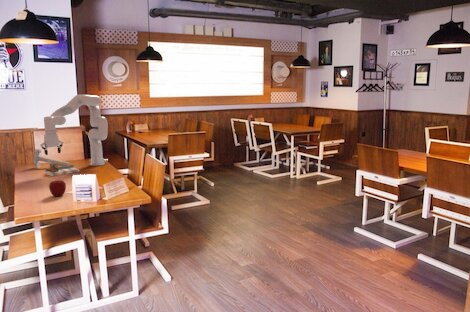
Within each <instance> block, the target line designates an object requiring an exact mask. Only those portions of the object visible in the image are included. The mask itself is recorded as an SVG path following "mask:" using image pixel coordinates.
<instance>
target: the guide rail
mask: <svg viewBox="0 0 470 312" xmlns="http://www.w3.org/2000/svg"><path fill="white" fill-rule="evenodd" d="M73 167H74V164H70V165H69V166H59V167H58V170H60V169H67V168H73ZM74 168H75V167H74ZM47 171H50V167H49V168H45V169H44V172H47Z"/></svg>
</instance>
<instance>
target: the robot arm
mask: <svg viewBox="0 0 470 312" xmlns="http://www.w3.org/2000/svg"><path fill="white" fill-rule="evenodd" d="M100 105H102V98H101V97H100V96H98V95H90V94H76V95H75V96H74V97H72V99H70V101H68V102H67V103H65V105H63V106H61V107H59V108H57V109H56V110H55V111H53V112H52V113H51V114H50V115H49V116H48V115H47V116H44V117H43V124H44V132H45V134H44V135H43V136H44V137H43V142H42V143H41V144H40V145H39V147H40V148H41V150H44V154H45V156H48V155H49V153H48V148H54V147H57V153H58V154H61V152H62V151H61V150H62V149H61V148H62V147H63V144H64V142H63V141H61V140H60V139H59V136H58V132H59V131H58V130H57V128H56V126H62V125H65V124H66V122H67V119H66V117H65V116H68V115H72V114H74V113H75V112H76V111H77V110H78V109H79V108H81V106H87V107H88V108H89V109H88V110H89V116H90V117H89V124H90V126H91V127H93V128H91V129H90V130H89V131H88V133H87V135H88V139H89V145H90V146H89V147H90V160H91V162H90V163H89V166H94V167H95V166H103V165H105V164H106V162H108V161H109V159H108V158H104V157H103V145H102V141H105V140H106V139H107V137H108V132H109V130H108V129H109V127H108V126H109V124H108V123H109V122H108V120H107V118H106V117H105V116H101V108H100Z"/></svg>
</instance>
